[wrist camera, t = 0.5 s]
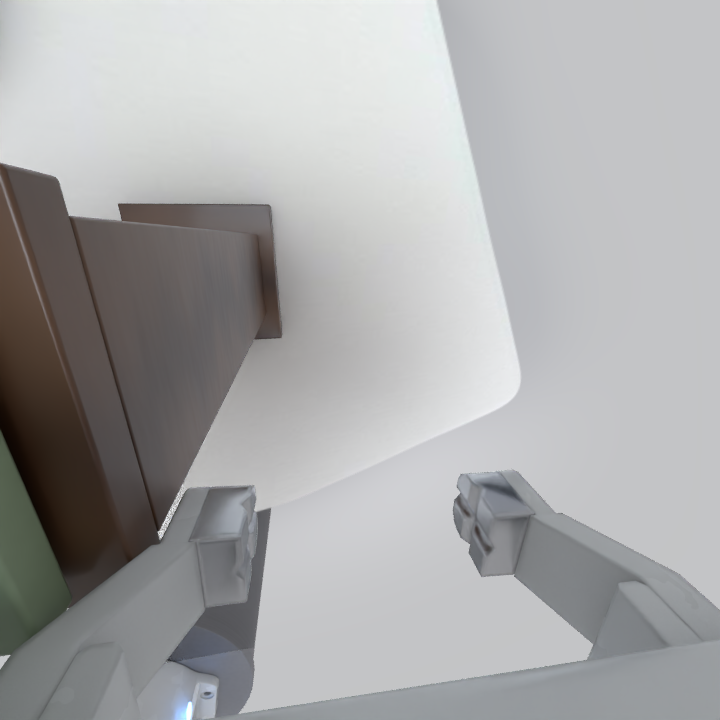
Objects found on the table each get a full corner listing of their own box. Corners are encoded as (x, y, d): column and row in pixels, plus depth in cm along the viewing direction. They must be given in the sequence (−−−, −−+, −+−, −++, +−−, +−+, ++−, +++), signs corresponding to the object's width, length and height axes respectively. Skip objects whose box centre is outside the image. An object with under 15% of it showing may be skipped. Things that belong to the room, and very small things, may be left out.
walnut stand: (282, 334, 29) (213, 641, 7) (156, 340, 27) (-446, 756, 5) (270, 206, 25) (56, -8, 3) (125, 205, 24) (-1903, -182, 2)
